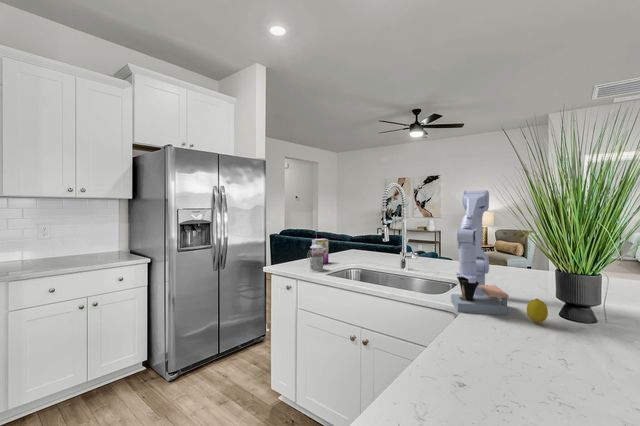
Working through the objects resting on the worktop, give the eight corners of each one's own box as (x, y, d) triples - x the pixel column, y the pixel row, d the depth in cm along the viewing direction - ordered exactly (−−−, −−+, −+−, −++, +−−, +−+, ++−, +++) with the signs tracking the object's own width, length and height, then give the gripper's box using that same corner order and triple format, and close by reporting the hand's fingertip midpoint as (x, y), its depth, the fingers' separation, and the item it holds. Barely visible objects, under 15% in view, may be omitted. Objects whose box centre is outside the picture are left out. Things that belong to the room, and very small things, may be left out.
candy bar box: (316, 265, 202) (316, 240, 202) (311, 264, 206) (311, 239, 206) (329, 263, 210) (328, 238, 209) (324, 262, 214) (324, 238, 213)
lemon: (551, 327, 95) (551, 301, 95) (531, 326, 96) (531, 300, 96) (542, 321, 100) (542, 296, 100) (523, 319, 102) (523, 295, 101)
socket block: (451, 301, 122) (451, 283, 122) (495, 303, 119) (495, 285, 119) (458, 312, 109) (458, 292, 109) (508, 315, 106) (508, 294, 106)
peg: (460, 305, 117) (461, 284, 117) (471, 306, 116) (472, 284, 116) (462, 308, 114) (463, 286, 113) (473, 309, 113) (473, 287, 112)
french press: (328, 269, 187) (328, 228, 186) (314, 272, 179) (313, 229, 178) (317, 267, 194) (316, 227, 193) (302, 270, 186) (302, 228, 185)
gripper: (451, 258, 123) (451, 292, 123) (460, 264, 108) (460, 303, 109) (471, 258, 121) (471, 293, 121) (482, 265, 107) (482, 304, 107)
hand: (467, 298), depth 115 cm, fingers open, 5 cm apart
